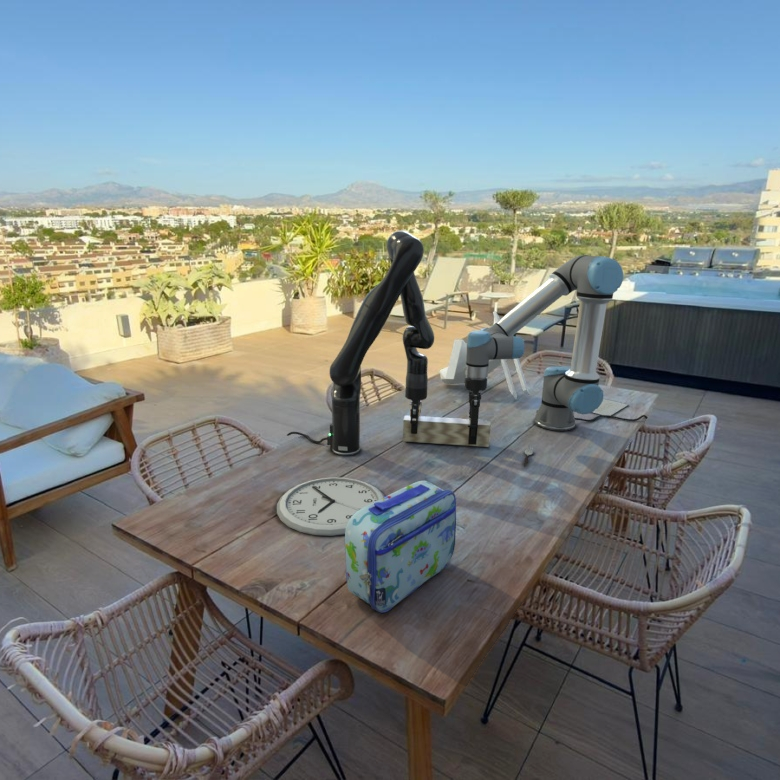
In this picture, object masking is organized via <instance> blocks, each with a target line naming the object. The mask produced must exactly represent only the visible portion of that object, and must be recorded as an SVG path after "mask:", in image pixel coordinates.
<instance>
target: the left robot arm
mask: <svg viewBox="0 0 780 780" xmlns="http://www.w3.org/2000/svg"><path fill="white" fill-rule="evenodd" d="M385 248H386V252H387V255H388V258H389V262H390V266H389V268H388V270H387V271H386V274H385V276H384V277H383V279H382V280H381V281H380V282H379V283H378V284H376V285H375V286H374V287H373V288H372V289H371V290H370V291H369V292H368V293H367V294H366V296H365V297H364V299H363V301H362V303H361V305H360V307H359V308H358V311H357V313H356V315H355V317H354V320H353V322H352V324H351V327H350V330H349V332H348V335H347V338H346V340H345V342H344V344H343V346H342V348H341V349H340V351H339V353H338V354H337V355H336V357H335V358H334V359H333V361H332V362H331V364H330V366H329V378H330V380H331V381H332V384H333V385H332V392H331V423H330V424H329V433H328V436H326V437H323V438H321V439H320V440H315V439H312V438H311V437H310V436H309V435H307V434H305V433H303V432H299V431H290V432H288V433H287V434H286V436H288V437H289V436H291V435H299V436H302V437H305V438H307V440H308V441H310V442H312V443H315V444H321V443H322V442H324V441H326V444H327V445H328V446H329V451H331V452H332V453H333V454H335V455H337V456H343V457H349V456H354V455H357V454H358V453H360V451H361V438H360V437H361V432H360V431H361V422H360V421H361V412H360V410H361V408H360V407H361V405H360V404H361V403H360V401H361V400H360V399H361V392H362V390H361V389H362V363H363V361H364V358H365V357H366V355H367V353H368V351H369V349H370V348H371V346H372V344H374V342H375V341H376V340H377V338H378V336H379V335H380V333H381V332H382V330H383V328H384V327H385V325H386V323H387V321H388V319H389V318H390V315H391V313H392V311H393V309H394V307H395V305H396V303H397V301H398V299H399V298H400V300H401V306H402V312H403V318H404V322H405V324H406V325H409V326H407V327H406V328H404V330H403V333H402V344H403V348H404V352H405V356H406V357H405V358H406V375H405V390H404V391H405V393H404V397H405V399H407V400H410V402H409V415H410V417H411V421H410V423H411V433H412V434H417V430H418V418H419V417H420V416H421V411H422V404H423V403H422V402H423V401H424V400H426V399H427V398H428V383H429V379H428V378H429V377H428V363H429V359H428V357H427V355H425V354H423V353H421V352H419V351H418V349H420V350H421V349H422V350H429V349H430V348H432V346H433V345H434V343H435V333H434V330H433V327H432V325H431V324H430V321H429V318H428V317H427V314H426V308H425V301H424V297H423V293H422V291H421V288H420V285H419V283H418V280H417V278H416V273H415V271H416V270H417V268H418V267H419V266H420V263H421V262H422V260H423V256H424V253H425V248H424V244H423V243H422V241H421V240H420V239H419V238H417V237H415V236H414V235H412V234H411V233H409V232H407V231H404V230H397V231H395V232H393V233H391V234H390V236H389V237H388V239H387V241H386V247H385ZM413 419H416V421H415V420H413Z"/></svg>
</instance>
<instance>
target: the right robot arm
mask: <svg viewBox="0 0 780 780" xmlns="http://www.w3.org/2000/svg"><path fill="white" fill-rule="evenodd" d="M623 281H624V271H623V268H622V265H621V264H620V263H619V262H618V260H615V258H611V257H607V256H600V255H599V256H598V255H590V254H581V255H578V256H574V257H572V258H571V259H569V260H568V261H566V262H565V263H563V264H562V265H560V266H559V267H558V268H557V269H555V270H554V271H553V272H552V273H550V274H549V276H548V280H546V281H545V282H544V283H543V284H542V285H540V286H539V287H538V288H536V289H535V290H534V291H533V292H532V293H531V294H529V295H528V296H527V297H525V298H524V299H523V300H522V301H521V302H519V303H518V304H517V305H516V306H515V307H513V308H512V309H511V310H509V311H508V312H507V313H506V314H504V316H503V317H501V318H500V320H499V321H498V322H496V321H495V323H494V324H492V325H491V326H490V327H483V328H481V329H480V330H472V331H470V332H469V333H468V334H467V339H466V344H467V355H466V367H464V370H466V373H465V375H466V377H465V383H464V388H465V389H466V390H469V392H468V400H469V402H468V403H469V411H468V419H470V425H468V427H469V440H468V444H472V445H476V441H477V428H478V420H479V414H480V413H479V411H480V407H481V400H482V393H481V391H485V390H486V389H487V388H488V376H489V374H488V366H489V360H495V359H511V360H513V359H517V358H518V359H521V358H523V356H524V355H525V351H526V350H525V348H526V345H525V344H526V343H525V341H524V339H523V337H521V336H515V334H517V333H518V332H519V331H520V330H522V329H524V327H525V326H527V325H528V324H529V323H530V322H532V321H533V320H534V319H535V318H537V317H538V316H539V315H540V314H542V313H543V312H544V311H545V310H546V309H548V308H549V307H550V306H552V305H553V304H554V303H555V302H556V301H558V300H559V299H560V298H561V297H563V296H565V297H567V296H568V295H569V294H571V293H572V292H574V291H576V295H575V296H576V299H578V300H579V307H578V312H577V313H578V314H577V320H576V327H575V334H574V341H573V348H572V355H571V362H570V366H558V365H557V366H549V367H547V368H546V369H545V370H544V373H543V381H542V382H543V384H542V394H541V402H540V405H539V407H538V409H537V410H536V413H535V417H534V424H535V425H536V426H537V427H539V428H542V429H544V430H549V431H556V432H567V431H572V430H574V429H575V428H576V421H581V422H582V421H583V422H594V421H595V420H597V419H599V418H610V419H611V418H612V419H616V420H620V421H621V420H622V421H627V422H636V421H637V422H638V421H640V420H641V419H642V418H645V419H648V418H649V417H648V415H645V414H641V415H640V416H639V417H637V418H624V417H619V416H616V415H611V416H609V415H600V414H599V415H597V416H595V417H593V418H591V419H585V418H580V417H576V416H575V413H577V414H580V415H589V414H591V413H592V412H593V411H595V409H597V408H598V407H599V406H600V405H601V403H602V401H603V399H604V391H603V389H602V387H600V386H599V384H600V377H601V376H600V375H599V373H598V372H597V368H598V361H599V354H600V348H601V344H602V336H603V330H604V324H605V318H606V311H607V305H608V303H609V302H610V301H612V300H613V298H614V293H615V292H617V291H619V290H618V289H620V288H621V286H622V284H623Z"/></svg>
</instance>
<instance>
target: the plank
mask: <svg viewBox="0 0 780 780" xmlns="http://www.w3.org/2000/svg"><path fill="white" fill-rule="evenodd" d="M413 420H415V421H416V419H413ZM402 421H403V422H402V423H403V424H402V426H403V427H402V442H408V443H409V442H410V443H423V444H425V443H426V444H436V445H437V444H438V445H439V444H440V445H452V446H470V447H483V448H489V447H490V439H491V428H492V424H491V420H489V419H488V420H487V419H478V428H477V441H476V445H472V444H468V440H469V427H468V425H470V418H459V417H458V418H456V417H439V416H427V415H426V416H424V415H420V417H419V418H418V430H417V434H412V433H411V423H410V421H411V417H410V414H409V415H408V414H407V415H406V414H405V415H403V420H402Z"/></svg>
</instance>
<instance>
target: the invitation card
mask: <svg viewBox="0 0 780 780" xmlns="http://www.w3.org/2000/svg"><path fill="white" fill-rule="evenodd" d="M628 406H629V404H627V403H623V402H618V401H614V400H609V399H605V398H603V401H602V403H601V405H600V406H599V407H598V408H597V409H595V411H593V412H591V413H593V414H596V415H599V416H600V415H609V416H614V414H616V413H617V412H619V411H621V410H623V409H624V408H626V407H628Z"/></svg>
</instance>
